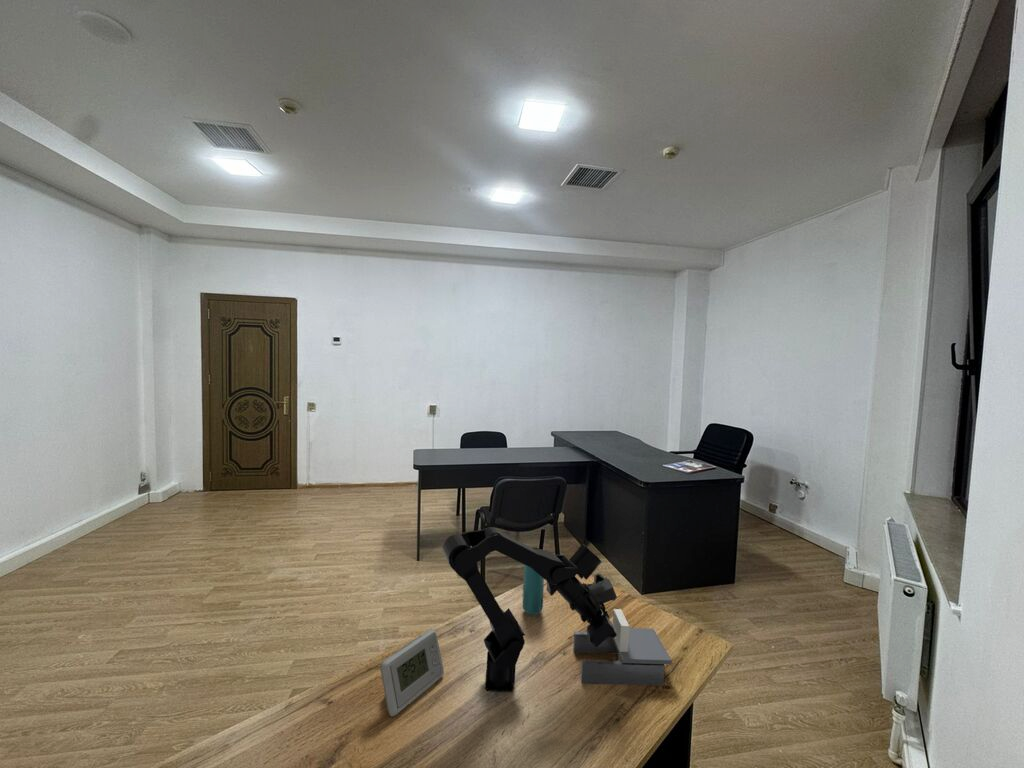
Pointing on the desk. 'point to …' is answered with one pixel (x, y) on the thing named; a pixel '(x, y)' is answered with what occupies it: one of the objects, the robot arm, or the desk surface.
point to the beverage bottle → (532, 591)
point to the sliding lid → (637, 643)
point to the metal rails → (614, 666)
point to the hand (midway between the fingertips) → (615, 635)
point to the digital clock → (411, 671)
